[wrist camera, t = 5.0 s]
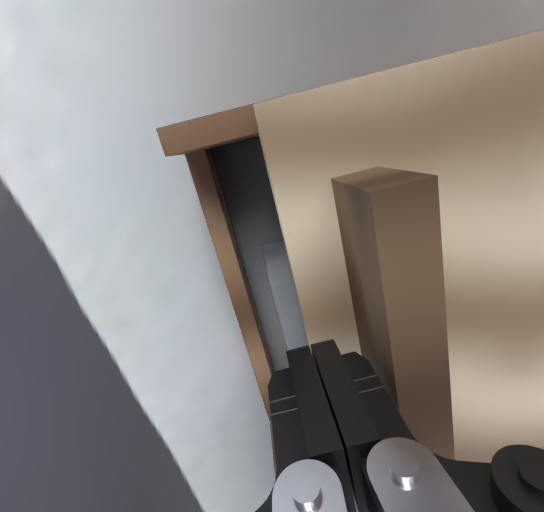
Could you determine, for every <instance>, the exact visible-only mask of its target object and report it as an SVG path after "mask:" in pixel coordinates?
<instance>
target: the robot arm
mask: <svg viewBox="0 0 544 512" xmlns="http://www.w3.org/2000/svg"><path fill="white" fill-rule="evenodd" d="M310 346H311V350H310V347H309V345H307V346H303V347H299V348H295V349H291V350H287V351H286V353H287V358H288V362H289V367H290V368H287V369H283V370H279V371H275V372H273V373H272V376H271V379H270V381H269V384H268V394H269V402H270V413H271V422H272V432H273V441H274V450H275V460H276V480H275V484H274V487H273V489H272V491H271V493H270V495H269V497H268V498H267V500H266V501H265V502H264V504H263V505H262V506H261V507H260V508H259V509H258V510H256V511H255V512H357V511H356V506H355V502H356V505H357V508H358V512H544V450H543V449H541V448H538V447H534V446H529V445H519V444H515V445H508V446H505V447H503V448H501V449H499V450H498V451H497V452H496V453H495V454H494V456H493V458H492V461H491V463H484V462H471V461H459V460H452V459H448V458H444V457H442V456H439V455H437V454H435V453H433V452H431V451H430V450H428V449H427V448H426V447H425V446H423V445H422V444H420V443H419V442H418V441H417V440H416V439H415V438H414V436H413V435H412V433H411V432H410V430H409V428H408V427H407V425H406V423H405V422H404V420H403V418H402V417H401V415H400V413H399V411H398V410H397V408H396V406H395V405H394V403H393V401H392V400H391V398H390V396H389V395H388V393H387V391H386V389H385V388H384V387H383V384H382V383H381V381H380V379H379V378H378V376H377V375H376V372H375V371H374V369H373V367H372V366H371V364H370V362H369V361H368V360H367V359H365V358H364V357H363V356H361V355H360V354H358V353H357V352H356V351H354V352H350V353H346V354H342V355H341V353H340V351H339V349H338V347H337V345H336V343H335V341H334V339H330V340H326V341H322V342H318V343H314V344H310ZM311 351H312V353H311ZM354 499H355V501H354Z"/></svg>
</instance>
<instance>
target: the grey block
mask: <svg viewBox="0 0 544 512" xmlns="http://www.w3.org/2000/svg"><path fill="white" fill-rule="evenodd" d="M262 249H263V254H264V259H265V264H266V269H267V274H268V279H269V284H270V288H271V291H272V295H273V299H274V302H275V306H276V310H277V313H278V317H279V321H280V324H281V328H282V332H283V335H284V339H285V343H286V346H287V350H291V349H295V348H299V347H303V346H307V345H309V344H308V340H307V335H306V331H305V327H304V323H303V319H302V314H301V310H300V306H299V302H298V298H297V293H296V289H295V285H294V281H293V277H292V272H291V268H290V264H289V260H288V256H287V251H286V247H285V243H284V240H281V241H278V242H274V243H270V244H266V245H262Z"/></svg>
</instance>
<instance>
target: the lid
mask: <svg viewBox="0 0 544 512" xmlns="http://www.w3.org/2000/svg"><path fill="white" fill-rule="evenodd" d="M252 108H253V113H254V117H255V121H256V125H257V130H258V134H259V138H260V142H261V146H262V151H263V155H264V159H265V163H266V167H267V172H268V176H269V180H270V184H271V188H272V193H273V197H274V201H275V205H276V209H277V214H278V218H279V222H280V226H281V230H282V235H283V239H284V243H285V247H286V251H287V256H288V260H289V264H290V268H291V272H292V277H293V281H294V285H295V289H296V293H297V298H298V302H299V306H300V310H301V314H302V319H303V323H304V327H305V331H306V335H307V340H308V344H309V347H310V350H311V346H310V344H314V343H318V342H322V341H326V340H330V339H334V341H335V343H336V345H337V347H338V349H339V351H340V353H341V355H342V354H346V353H350V352H354V351H356V352H357V353H358V354H360V355H361V356H363V357H364V358H365V359H367V360H368V361H369V362H370V364H371V366H372V367H373V369H374V371H375V372H376V375H377V376H378V378H379V379H380V381H381V383H382V384H383V387H384V388H385V389H386V391H387V393H388V395H389V396H390V398H391V400H392V401H393V403H394V405H395V406H396V408H397V410H398V411H399V413H400V415H401V417H402V418H403V420H404V422H405V423H406V425H407V427H408V428H409V430H410V432H411V433H412V435H413V436H414V438H415V439H416V440H417V441H418V442H419V443H420V444H422V445H423V446H425V447H426V448H427V449H428V450H430V451H431V452H433V453H435V454H437V455H439V456H442V457H444V458H448V459H452V460H459V461H471V462H484V463H489V462H491V461H492V458H493V456H494V454H495V453H496V452H497V451H498V450H499V449H501V448H503V447H505V446H508V445H515V444H519V445H529V446H534V447H538V448H541V449H543V448H544V30H540V31H536V32H532V33H528V34H524V35H520V36H516V37H512V38H508V39H505V40H501V41H497V42H493V43H489V44H485V45H481V46H477V47H473V48H469V49H465V50H461V51H458V52H454V53H450V54H446V55H442V56H438V57H434V58H430V59H426V60H422V61H418V62H414V63H411V64H407V65H403V66H399V67H395V68H391V69H387V70H383V71H379V72H375V73H371V74H367V75H363V76H360V77H356V78H352V79H348V80H344V81H340V82H336V83H332V84H328V85H324V86H320V87H316V88H313V89H309V90H305V91H301V92H297V93H293V94H289V95H285V96H281V97H277V98H273V99H269V100H266V101H262V102H258V103H254V104H252ZM311 353H312V351H311Z"/></svg>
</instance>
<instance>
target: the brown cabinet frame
mask: <svg viewBox="0 0 544 512" xmlns="http://www.w3.org/2000/svg"><path fill="white" fill-rule="evenodd" d="M156 130H157V133H158V136H159V139H160V142H161V145H162V148H163V151H164V153H165V156H174V155H181V154H185V156H186V159H187V162H188V166H189V169H190V172H191V175H192V178H193V181H194V184H195V188H196V191H197V194H198V197H199V200H200V203H201V206H202V210H203V213H204V216H205V219H206V222H207V225H208V228H209V232H210V235H211V238H212V241H213V244H214V247H215V250H216V254H217V257H218V260H219V263H220V266H221V269H222V272H223V276H224V279H225V282H226V285H227V288H228V291H229V294H230V298H231V301H232V304H233V307H234V310H235V313H236V316H237V320H238V323H239V326H240V329H241V332H242V335H243V338H244V342H245V345H246V348H247V351H248V354H249V357H250V360H251V364H252V367H253V370H254V373H255V376H256V379H257V382H258V386H259V389H260V392H261V395H262V398H263V401H264V404H265V408H266V411H267V414H268V417H269V420H270V428H271V438H272V448H273V458H274V468H275V478H276V460H275V450H274V441H273V432H272V422H271V413H270V402H269V394H268V384H269V381H270V379H271V376H272V373H273V372H274V368H273V365H272V361H271V358H270V354H269V351H268V348H267V344H266V341H265V337H264V334H263V330H262V327H261V324H260V320H259V317H258V313H257V310H256V306H255V303H254V300H253V296H252V293H251V289H250V286H249V282H248V279H247V275H246V272H245V269H244V265H243V262H242V258H241V255H240V251H239V248H238V245H237V241H236V238H235V234H234V231H233V227H232V224H231V221H230V217H229V214H228V210H227V207H226V203H225V200H224V197H223V193H222V190H221V186H220V183H219V179H218V176H217V173H216V169H215V166H214V162H213V159H212V155H211V152H210V148H214V147H218V146H222V145H226V144H230V143H234V142H238V141H242V140H246V139H250V138H253V137H257V136H259V134H258V130H257V125H256V121H255V117H254V113H253V108H252V104H250V105H247V106H243V107H239V108H235V109H231V110H227V111H223V112H219V113H215V114H211V115H207V116H203V117H200V118H196V119H192V120H188V121H184V122H180V123H176V124H172V125H168V126H164V127H160V128H156Z"/></svg>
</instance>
